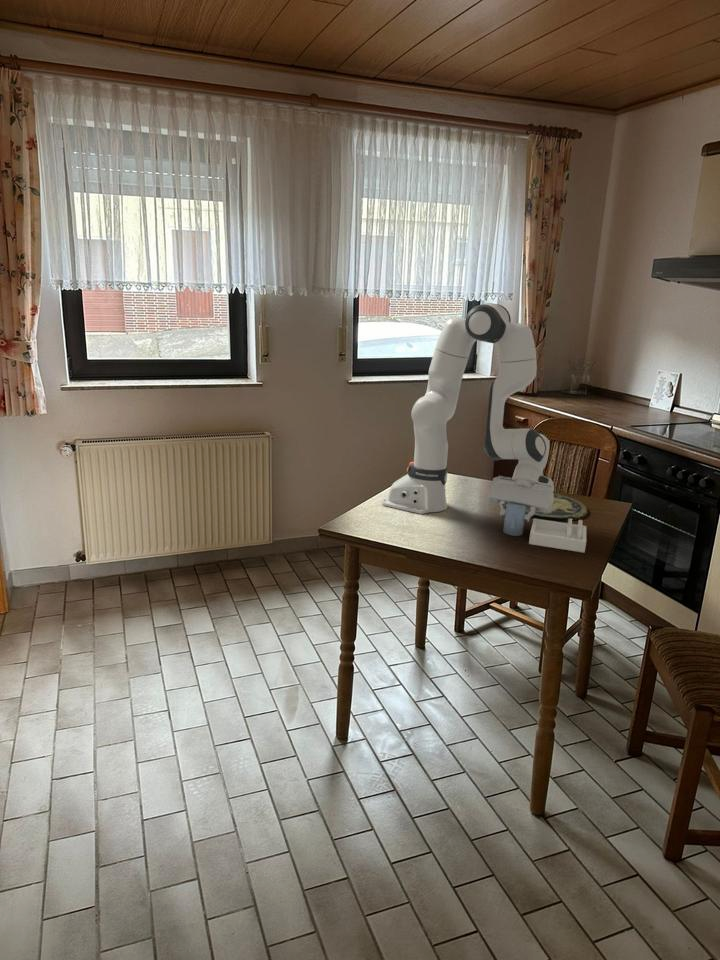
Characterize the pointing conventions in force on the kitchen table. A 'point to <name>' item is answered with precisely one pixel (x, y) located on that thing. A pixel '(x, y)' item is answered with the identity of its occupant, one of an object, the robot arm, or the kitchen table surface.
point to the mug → (514, 519)
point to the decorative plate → (562, 509)
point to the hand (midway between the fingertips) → (514, 518)
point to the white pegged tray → (558, 535)
